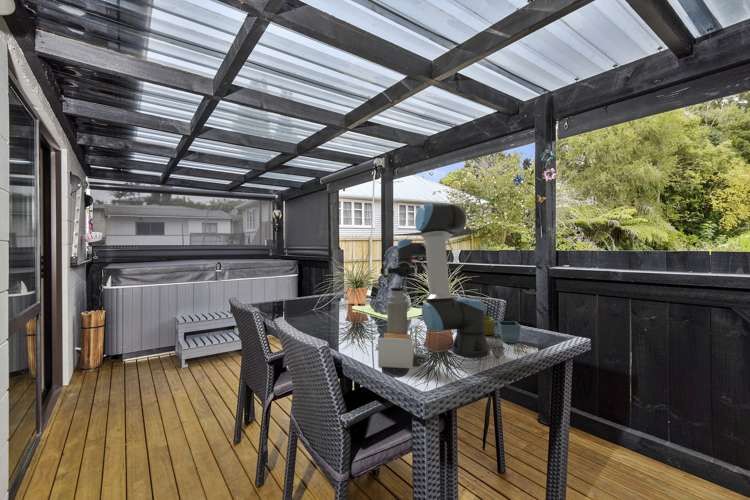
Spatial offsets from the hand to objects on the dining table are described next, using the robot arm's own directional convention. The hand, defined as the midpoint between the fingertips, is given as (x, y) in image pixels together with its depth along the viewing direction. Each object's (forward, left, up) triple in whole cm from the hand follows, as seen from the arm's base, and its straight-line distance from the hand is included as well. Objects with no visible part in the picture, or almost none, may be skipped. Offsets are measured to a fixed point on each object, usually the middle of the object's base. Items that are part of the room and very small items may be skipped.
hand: (400, 272), depth 159 cm
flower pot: (-39, -35, -34) cm, 62 cm away
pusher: (-9, +20, -33) cm, 39 cm away
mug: (-24, -42, -34) cm, 59 cm away
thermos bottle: (-7, +15, -33) cm, 37 cm away
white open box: (-7, +16, -34) cm, 38 cm away
